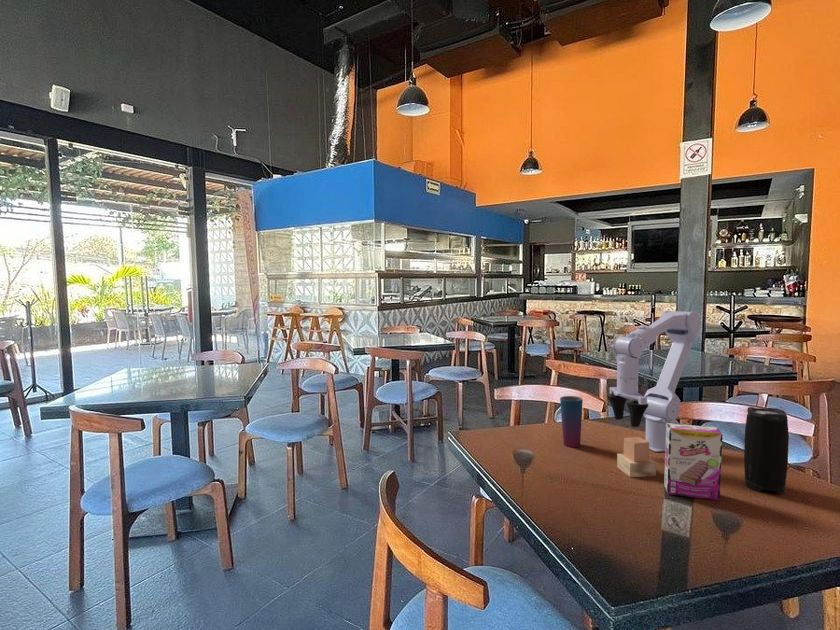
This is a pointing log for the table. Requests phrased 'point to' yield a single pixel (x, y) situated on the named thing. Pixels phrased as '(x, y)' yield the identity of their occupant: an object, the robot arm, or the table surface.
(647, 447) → the terracotta cube
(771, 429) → the portable speaker
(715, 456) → the candy bar box
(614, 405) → the robot arm
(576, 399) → the cup
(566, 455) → the table surface
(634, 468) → the oak block
